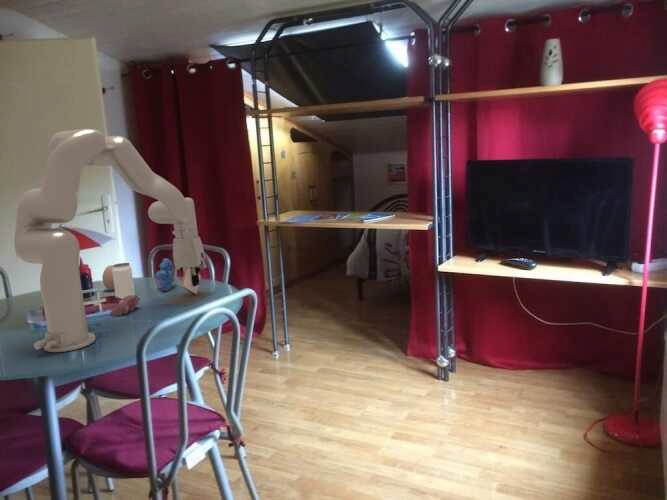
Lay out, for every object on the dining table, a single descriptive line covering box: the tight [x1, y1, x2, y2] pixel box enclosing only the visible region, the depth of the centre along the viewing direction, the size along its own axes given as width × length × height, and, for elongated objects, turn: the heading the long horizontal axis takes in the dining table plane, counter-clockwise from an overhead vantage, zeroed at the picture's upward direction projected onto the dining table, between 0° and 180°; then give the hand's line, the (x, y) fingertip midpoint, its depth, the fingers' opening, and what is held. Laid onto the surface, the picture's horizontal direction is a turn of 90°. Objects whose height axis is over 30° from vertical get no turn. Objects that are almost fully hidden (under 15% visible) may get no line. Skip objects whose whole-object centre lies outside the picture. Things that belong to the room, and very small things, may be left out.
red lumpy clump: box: [109, 295, 140, 317], centre depth 166 cm, size 10×5×7 cm, turn 169°
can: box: [112, 262, 136, 300], centre depth 186 cm, size 6×6×12 cm
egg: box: [102, 264, 115, 291], centre depth 198 cm, size 7×7×10 cm
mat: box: [158, 290, 215, 306], centre depth 179 cm, size 16×12×1 cm
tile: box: [180, 267, 202, 294], centre depth 181 cm, size 8×1×7 cm
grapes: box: [154, 257, 175, 292], centre depth 192 cm, size 12×7×12 cm, turn 1°
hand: (193, 284), depth 182 cm, fingers closed
